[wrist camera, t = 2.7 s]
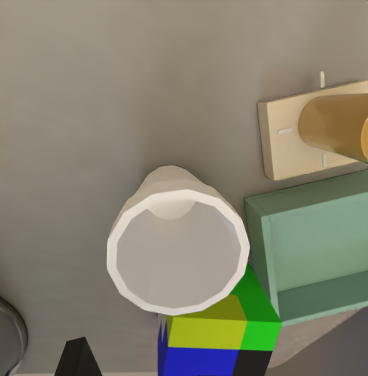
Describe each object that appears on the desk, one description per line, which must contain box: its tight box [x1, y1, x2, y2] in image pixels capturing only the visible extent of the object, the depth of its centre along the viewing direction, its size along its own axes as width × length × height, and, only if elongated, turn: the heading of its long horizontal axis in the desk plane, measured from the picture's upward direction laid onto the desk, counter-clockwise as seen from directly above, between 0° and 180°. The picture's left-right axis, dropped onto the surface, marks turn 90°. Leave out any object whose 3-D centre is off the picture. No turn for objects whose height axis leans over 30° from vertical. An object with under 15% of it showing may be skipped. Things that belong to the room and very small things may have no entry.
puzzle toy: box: [158, 262, 282, 376], centre depth 29 cm, size 10×10×10 cm
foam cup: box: [107, 165, 250, 316], centre depth 23 cm, size 10×9×13 cm
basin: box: [244, 170, 368, 327], centre depth 31 cm, size 17×15×5 cm
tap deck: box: [257, 71, 368, 181], centre depth 27 cm, size 11×10×3 cm
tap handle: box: [298, 93, 368, 163], centre depth 22 cm, size 5×5×9 cm
